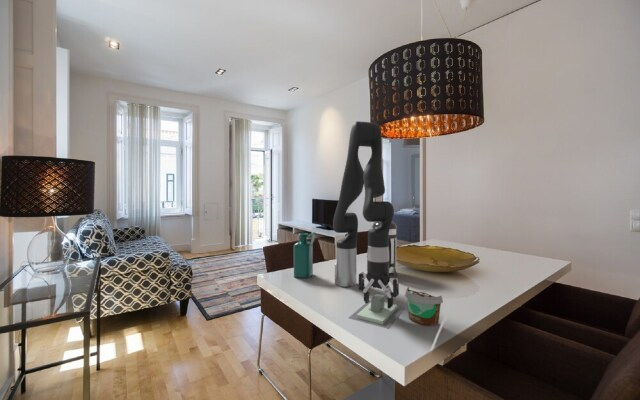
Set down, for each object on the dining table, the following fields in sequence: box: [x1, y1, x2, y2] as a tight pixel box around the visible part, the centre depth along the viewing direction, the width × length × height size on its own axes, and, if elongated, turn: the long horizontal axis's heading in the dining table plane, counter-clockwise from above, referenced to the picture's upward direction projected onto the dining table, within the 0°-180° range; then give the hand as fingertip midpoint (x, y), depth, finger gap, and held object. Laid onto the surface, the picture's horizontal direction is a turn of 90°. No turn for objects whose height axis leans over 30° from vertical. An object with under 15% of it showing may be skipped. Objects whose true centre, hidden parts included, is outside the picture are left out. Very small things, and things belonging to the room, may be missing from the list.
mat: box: [348, 299, 406, 330], centre depth 98 cm, size 14×18×1 cm
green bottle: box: [293, 232, 316, 279], centre depth 143 cm, size 10×8×22 cm
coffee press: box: [371, 221, 398, 277], centre depth 145 cm, size 17×16×30 cm
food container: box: [404, 286, 444, 327], centre depth 91 cm, size 12×6×10 cm, turn 45°
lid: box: [357, 293, 398, 325], centre depth 98 cm, size 9×15×6 cm, turn 148°
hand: (378, 305), depth 98 cm, fingers open, 7 cm apart
